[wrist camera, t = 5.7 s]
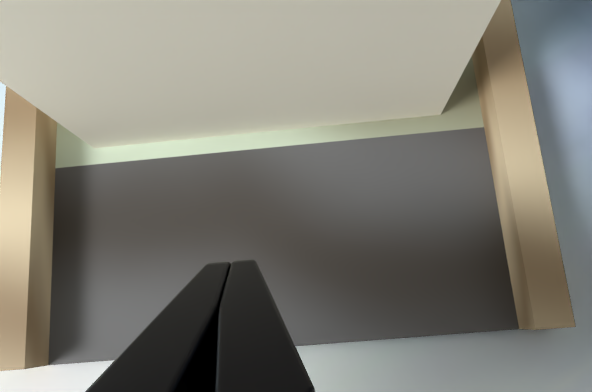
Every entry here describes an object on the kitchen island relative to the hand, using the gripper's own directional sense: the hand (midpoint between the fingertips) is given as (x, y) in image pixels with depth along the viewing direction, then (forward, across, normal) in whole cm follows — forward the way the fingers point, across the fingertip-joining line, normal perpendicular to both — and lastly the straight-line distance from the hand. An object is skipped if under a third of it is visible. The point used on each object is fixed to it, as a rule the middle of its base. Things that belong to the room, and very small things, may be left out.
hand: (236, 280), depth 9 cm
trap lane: (+8, 0, 0) cm, 9 cm away
